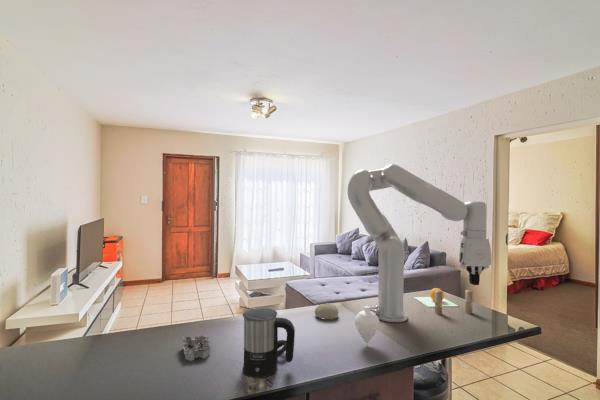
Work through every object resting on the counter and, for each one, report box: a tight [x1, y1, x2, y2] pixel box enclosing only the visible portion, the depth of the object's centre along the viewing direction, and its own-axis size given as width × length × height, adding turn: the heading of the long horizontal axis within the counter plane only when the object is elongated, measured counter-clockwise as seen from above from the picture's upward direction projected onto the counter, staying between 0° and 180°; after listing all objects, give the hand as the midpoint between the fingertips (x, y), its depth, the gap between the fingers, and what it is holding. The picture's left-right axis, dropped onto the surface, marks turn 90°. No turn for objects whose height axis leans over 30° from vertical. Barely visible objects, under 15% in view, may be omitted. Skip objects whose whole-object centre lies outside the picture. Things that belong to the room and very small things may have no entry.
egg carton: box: [182, 334, 211, 362], centre depth 94 cm, size 11×8×4 cm
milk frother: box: [241, 307, 296, 379], centre depth 89 cm, size 14×16×15 cm
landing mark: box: [413, 296, 459, 308], centre depth 146 cm, size 14×14×1 cm
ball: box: [429, 287, 445, 301], centre depth 147 cm, size 6×6×6 cm
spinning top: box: [354, 305, 381, 346], centre depth 100 cm, size 8×8×12 cm
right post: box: [464, 289, 474, 315], centre depth 132 cm, size 3×3×9 cm
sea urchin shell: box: [314, 302, 339, 320], centre depth 125 cm, size 9×8×8 cm
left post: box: [434, 290, 443, 315], centre depth 131 cm, size 3×3×9 cm
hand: (474, 284), depth 119 cm, fingers closed
